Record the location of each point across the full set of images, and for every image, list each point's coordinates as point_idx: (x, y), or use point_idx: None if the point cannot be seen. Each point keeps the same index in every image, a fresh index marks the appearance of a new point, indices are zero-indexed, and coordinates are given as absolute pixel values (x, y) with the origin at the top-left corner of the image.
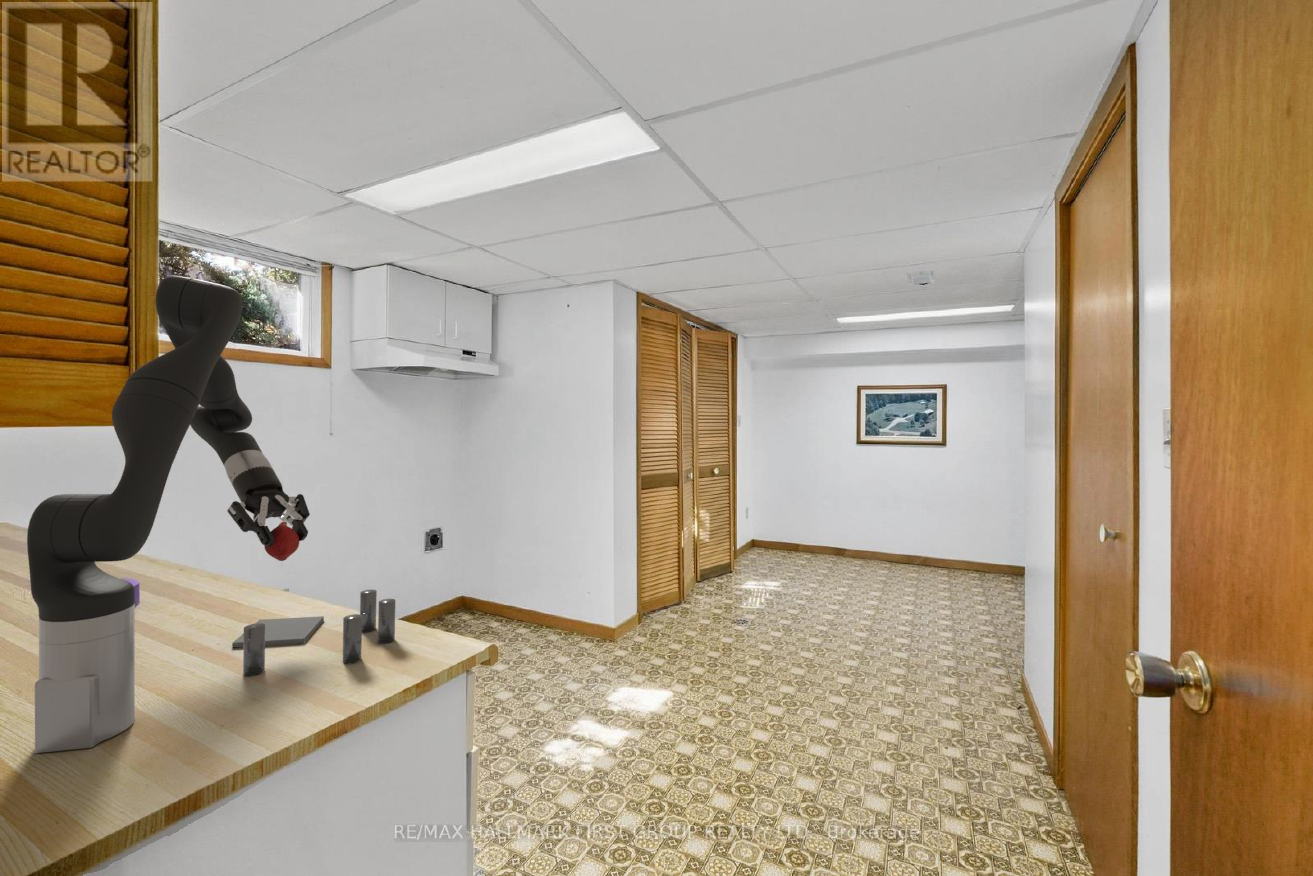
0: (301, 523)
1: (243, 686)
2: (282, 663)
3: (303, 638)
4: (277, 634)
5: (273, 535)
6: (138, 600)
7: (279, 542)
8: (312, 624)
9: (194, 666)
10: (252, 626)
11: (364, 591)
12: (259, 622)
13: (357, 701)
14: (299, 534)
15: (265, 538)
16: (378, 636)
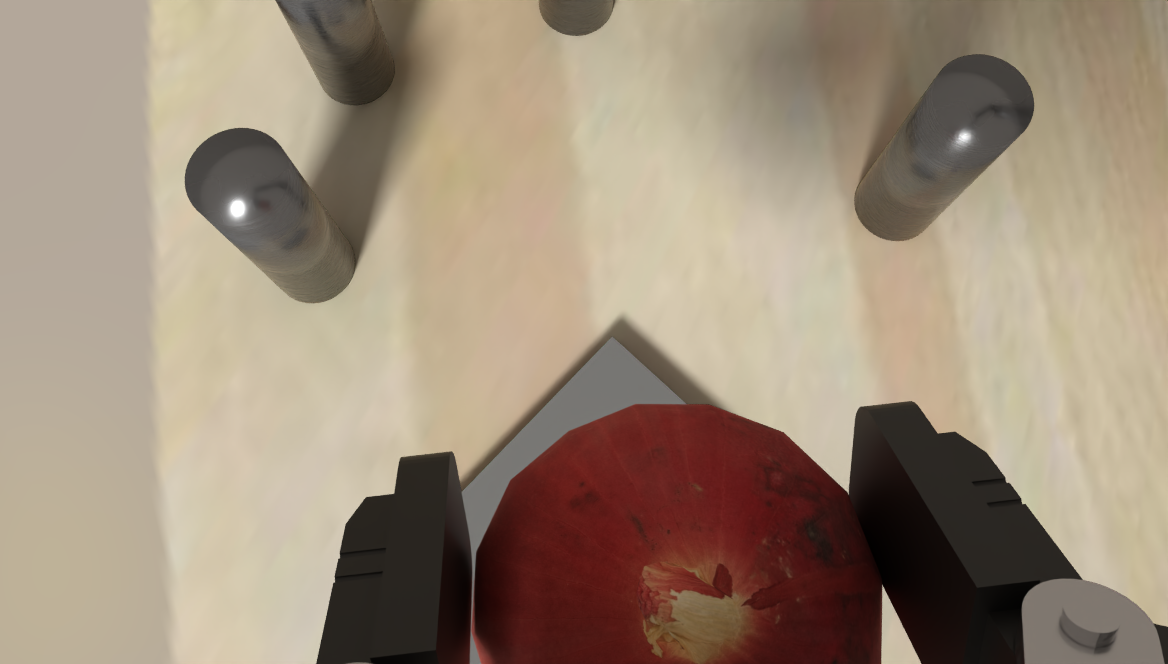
0: (380, 599)
1: None
2: (778, 199)
3: (614, 339)
4: None
5: (842, 529)
6: None
7: (781, 433)
8: (480, 505)
9: (1054, 480)
10: (991, 106)
11: (247, 201)
12: None
13: None
14: (461, 554)
15: (974, 450)
16: (386, 61)
